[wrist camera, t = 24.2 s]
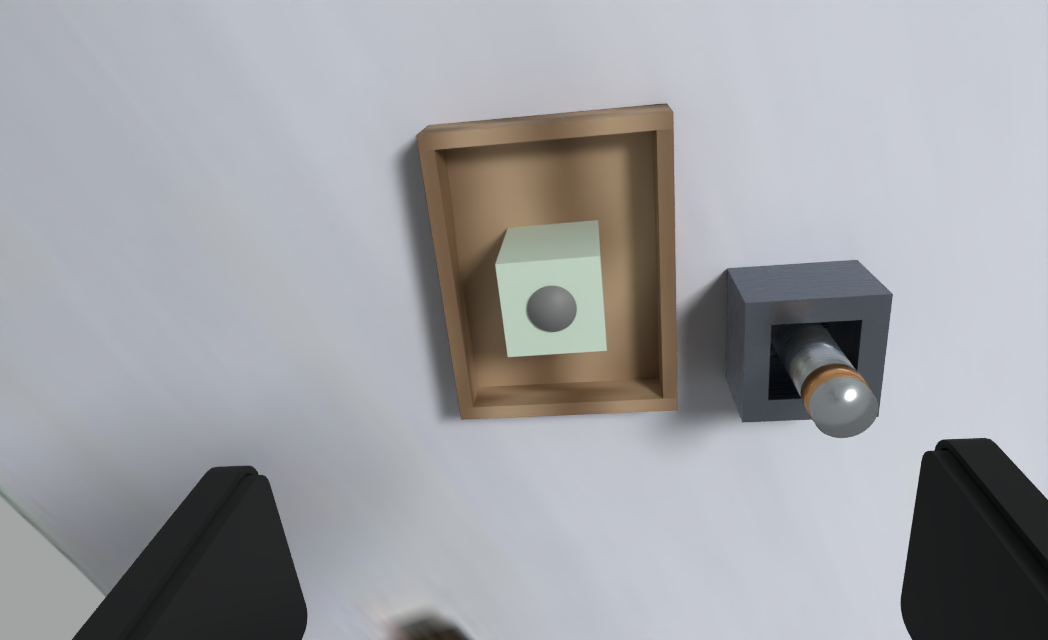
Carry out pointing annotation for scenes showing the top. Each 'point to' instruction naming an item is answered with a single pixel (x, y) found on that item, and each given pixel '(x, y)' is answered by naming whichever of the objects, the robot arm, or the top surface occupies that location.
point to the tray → (551, 198)
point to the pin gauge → (825, 379)
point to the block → (794, 298)
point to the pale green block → (552, 289)
